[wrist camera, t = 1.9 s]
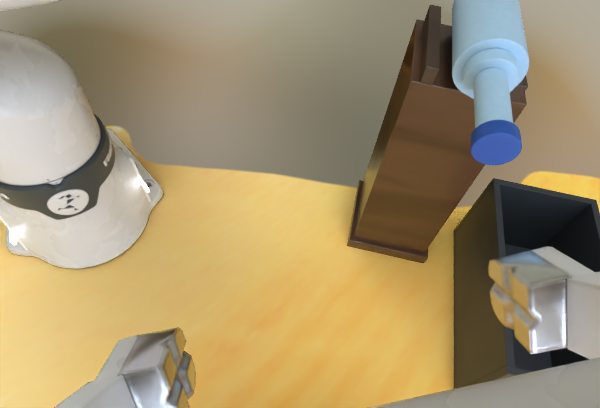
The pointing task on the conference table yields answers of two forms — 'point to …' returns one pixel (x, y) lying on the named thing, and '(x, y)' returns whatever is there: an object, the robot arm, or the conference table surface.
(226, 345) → the conference table surface
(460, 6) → the bottle
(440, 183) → the bottle stand
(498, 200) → the waste bin
